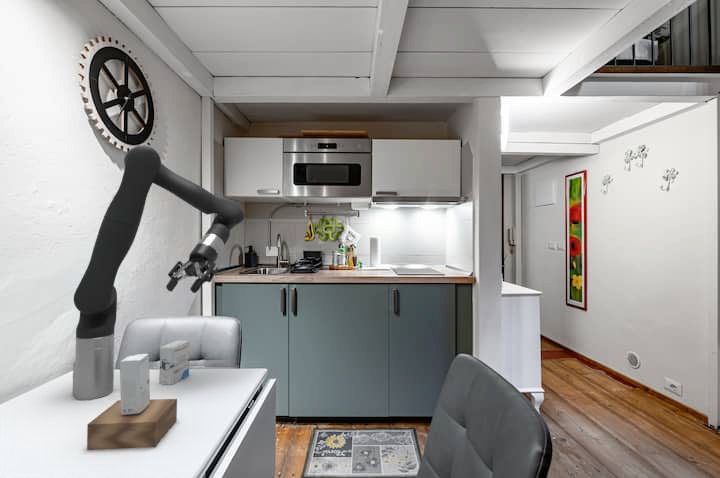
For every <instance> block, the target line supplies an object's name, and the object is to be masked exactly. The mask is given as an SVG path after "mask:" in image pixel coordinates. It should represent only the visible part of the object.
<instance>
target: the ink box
mask: <svg viewBox="0 0 720 478" xmlns="http://www.w3.org/2000/svg"><path fill="white" fill-rule="evenodd" d="M159 351H160V352H159V353H160V354H159V377H158V378H159V379H158V380H159V381H158V384H161V385H166V384H170V385H169V386H173V385H175V384H176V383H178V382H180V381H181V379H182V380H183V378H184V379H186V378H187V377H189V376H190V352H191V341H190V340H175V341H173V342H170V343H168V344H166V345H163V346H160V349H159ZM185 377H186V378H185ZM179 380H180V381H179ZM174 383H175V384H174ZM172 384H173V385H172Z"/></svg>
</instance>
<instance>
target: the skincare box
mask: <svg viewBox="0 0 720 478" xmlns="http://www.w3.org/2000/svg"><path fill="white" fill-rule="evenodd" d="M149 357H150V356H149V353H141V354H140V353H139V354H131V355H129V356H126V357H124V358H123V359H122V360H120V362H119V381H120V383H119V384H120V391H119V392H120V400H121V415H129V414H138V413H141V412H142V411H143V410H144V409H145V408H146V407H147V406H148V405H149V404H150V400H151V393H150V391H151V389H150V386H151V385H150V364H149V363H150V361H149V359H150V358H149Z"/></svg>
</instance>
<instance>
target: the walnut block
mask: <svg viewBox="0 0 720 478" xmlns="http://www.w3.org/2000/svg"><path fill="white" fill-rule="evenodd" d="M177 421H178V398H159V399H157V398H156V399H151V398H150V404H149V405H148V406H147V407H146V408H145V409H144V410H143V411H142V412H141V413H138V414H129V415H121V399H119V400H117V401H115V402H114V403H112V404H111V405H110V406H108V408H107V409H105V410H104V411H103V412H101V413H100V414H99V415H97V416H96V417H95V418H94V419H92V420H91V421H90V422H88V423H87V426H86V427H87V430H86V433H87V435H86V436H87V437H86V439H87V440H86V451H101V450H124V449H125V450H127V449H145V448H146V449H150V448H157V446H158V444H159V443H160V442H161V441H162V440H163V438H164V437H165V436H166V435H167V434H168V432H169V431H170V430H171V429H172V427H173V426H174V425H175V424H176V422H177Z"/></svg>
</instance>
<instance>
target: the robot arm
mask: <svg viewBox="0 0 720 478" xmlns="http://www.w3.org/2000/svg"><path fill="white" fill-rule="evenodd" d="M123 162H124V163H123V164H124V170H123V174H122V177H121V182H120V184H119V187H118V189H117V192H116V193H115V195H114V196H113V198H112V199H111V201H110V203H109V205H108V207H107V209H106V211H105V213H104V216H103V219H102V221H101V223H100V227H99V230H98V233H97V237H96V239H95V242H94V245H93V249H92V253H91V256H90V259H89V263H88V265H87V268H86V269H85V271H84V273H83V276H82V278H81V280H80V281H79V284H78V286H77V288H76V290H75V292H74V294H73V304H74V307H75V308H76V309H77V311H79V320H78V323H77V325H76V328H75V361H74V362H73V363H72V396H73V397H74V398H75V399H76V400H79V401H82V400H83V401H85V400H93V399H99V398H102V397H105V396H108V395H109V394H111V393H112V392H113V391H114V379H115V377H114V374H115V369H114V368H115V367H114V366H115V328H116V327H115V326H116V321H117V309H118V307H117V306H118V292H117V289H116V287H115V281H116V278H117V275H118V271H119V268H120V267H121V265H122V263H123V262H124V259H125V258H126V256H127V255H128V254H129V251H130V249H131V247H132V246H133V243H134V242H135V238H136V236H137V233H138V231H139V227H140V225H141V220H142V217H143V213H144V210H145V207H146V201H147V198H148V194H149V192H150V190H151V187H152V185H153V184H154V185H156V186H159V187H160V188H162V189H164V190H166V191H167V192H169V193H171V194H173V195H174V196H176V197H178V198H179V199H181V200H182V201H184V202H185V203H187V204H188V205H190V206H191V207H193V208H195V209H197V210H198V211H200V212H201V213H203V214H205V215H213V214H216V216H215V217H214V219H213V221H212V222H211V224H210V227H209V228H208V229H207V231H206V232H205V234H204V235H203V236H202V237H201V239H200V240H199V241H198V243H197V244H196V245H195V247H194V248H193V249H192V250H191V252H190V253H189V256H188V261H186V262H185V263H184V262H182V261H181V260H179V261H177V262H176V263H175V265H174V266H173V267H172V269H170V271H169V272H168V274H167V276H168V277H169V278H170V280H169V281H168V283H167V284H166V287H165V288H166V290H167V291H168V292H173V291H174V289H175V288H176V287H177V285H178V284H179V282H180V281H182V280H183V279H184V280H185V279H188V278H190V277H195V280H194V281H193V283H192V285H191V286H190V287H189V288H190V291H191V292H192V294H196V293H197V292H198V291H200V288H201V287H202V286H203V284H205V283H211V282H212V280H213V278H214V276H215V275H216V273H217V272H218V270H219V267H218V266H217V264H216V263H215V262H216V260H217V259H218V257H219V256H220V254H221V252H222V251H223V248H224V246H225V245H226V244H227V241H228V240H229V239H230V236H231V230H232V229H233V228H234V227H236V226H237V225H239V224H240V223H242V222H243V221H244V219H245V212H244V211H243V209H242V207H240V206H239V205H238V204H236V203H234V202H232V201H229V200H227V199H223V198H221V197H218V196H216V195H214V194H213V193H211V192H210V191H209V190H207V189H205V187H204V188H203V187H202V186H200V185H198V184H197V183H196V182H195V183H194V182H193V181H191V180H189V179H186V178H184V177H182V176H181V175H178V174H177V173H175V171H173V170H171V169H169V168H168V167H167V166H166V165H164V164H163V163H162V160H161V157H160V155H159V153H158V151H157V150H156V149H154V147H151V146H148V145H137V146H134V147H133V148H131V149H130V150H128V151H127V152H126V154H125V156H124V159H123Z"/></svg>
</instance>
